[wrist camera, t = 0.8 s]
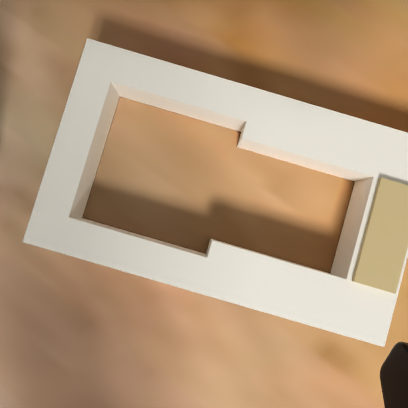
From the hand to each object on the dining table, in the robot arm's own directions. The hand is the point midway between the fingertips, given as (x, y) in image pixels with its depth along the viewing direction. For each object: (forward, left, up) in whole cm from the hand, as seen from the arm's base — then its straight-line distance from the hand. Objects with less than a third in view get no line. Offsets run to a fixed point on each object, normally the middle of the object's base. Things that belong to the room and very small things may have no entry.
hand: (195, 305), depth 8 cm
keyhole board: (+3, +3, -15) cm, 16 cm away
